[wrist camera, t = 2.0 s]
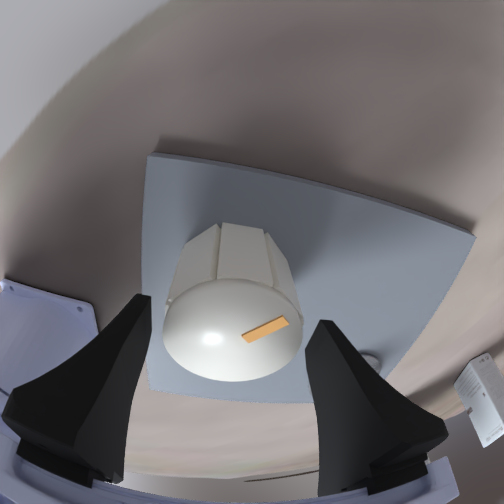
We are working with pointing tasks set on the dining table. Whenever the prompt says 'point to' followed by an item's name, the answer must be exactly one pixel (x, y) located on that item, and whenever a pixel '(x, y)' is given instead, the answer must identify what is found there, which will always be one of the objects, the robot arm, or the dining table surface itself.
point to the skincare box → (483, 397)
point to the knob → (232, 306)
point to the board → (299, 263)
